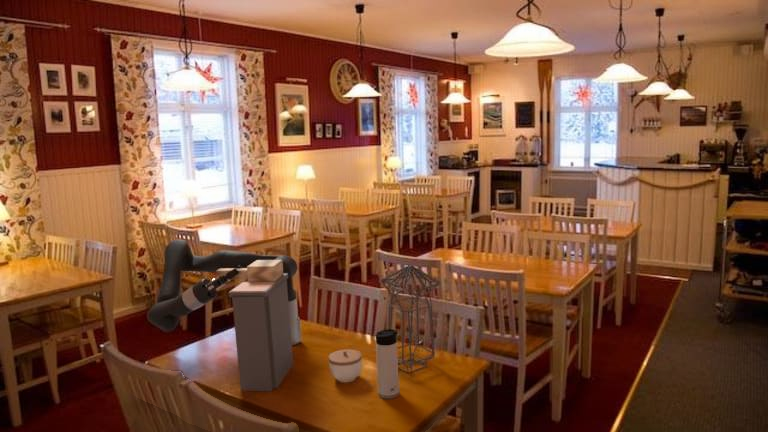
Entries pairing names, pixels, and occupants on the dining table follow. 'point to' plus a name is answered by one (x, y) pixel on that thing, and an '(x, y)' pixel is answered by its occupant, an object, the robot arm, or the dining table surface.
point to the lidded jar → (345, 364)
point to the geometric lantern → (408, 271)
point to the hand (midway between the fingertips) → (239, 269)
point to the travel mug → (387, 363)
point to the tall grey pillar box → (262, 333)
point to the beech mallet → (257, 271)
